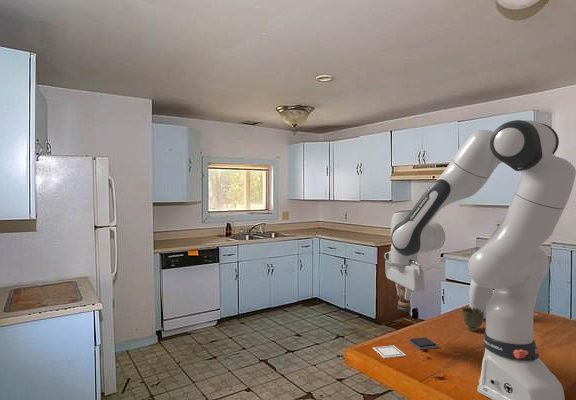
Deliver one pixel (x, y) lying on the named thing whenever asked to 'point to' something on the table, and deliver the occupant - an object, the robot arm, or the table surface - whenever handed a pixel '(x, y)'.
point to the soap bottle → (479, 297)
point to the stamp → (403, 301)
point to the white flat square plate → (389, 351)
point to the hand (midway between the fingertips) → (403, 297)
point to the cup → (473, 318)
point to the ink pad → (423, 343)
